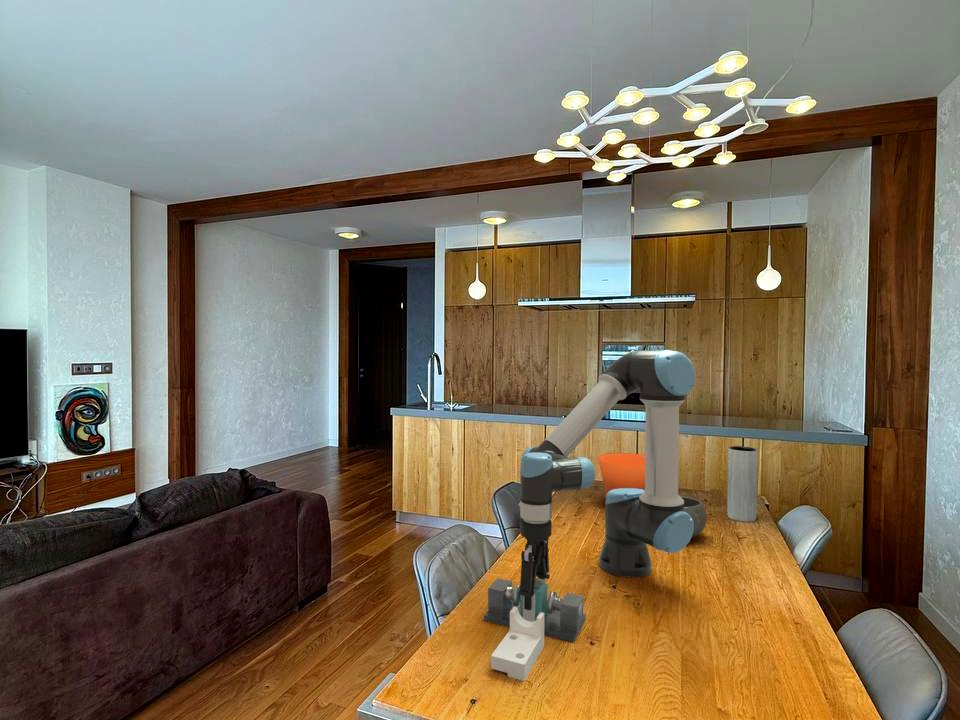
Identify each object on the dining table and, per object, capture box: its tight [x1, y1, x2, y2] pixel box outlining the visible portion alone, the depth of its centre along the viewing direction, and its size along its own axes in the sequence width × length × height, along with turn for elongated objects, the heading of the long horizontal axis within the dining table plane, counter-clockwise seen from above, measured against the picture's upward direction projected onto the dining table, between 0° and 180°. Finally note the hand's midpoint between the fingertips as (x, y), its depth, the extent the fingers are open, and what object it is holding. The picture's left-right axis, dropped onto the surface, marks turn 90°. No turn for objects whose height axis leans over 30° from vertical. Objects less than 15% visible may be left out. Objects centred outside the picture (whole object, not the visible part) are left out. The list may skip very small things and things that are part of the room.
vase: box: [726, 445, 758, 523], centre depth 198 cm, size 10×10×27 cm
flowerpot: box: [597, 452, 645, 496], centre depth 212 cm, size 25×25×20 cm
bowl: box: [679, 495, 708, 539], centre depth 179 cm, size 18×18×13 cm
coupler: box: [521, 581, 549, 621], centre depth 123 cm, size 5×5×8 cm
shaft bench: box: [483, 577, 587, 643], centre depth 123 cm, size 22×11×8 cm, turn 66°
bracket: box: [490, 607, 545, 682], centre depth 108 cm, size 13×7×8 cm, turn 156°
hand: (534, 613), depth 123 cm, fingers open, 8 cm apart
